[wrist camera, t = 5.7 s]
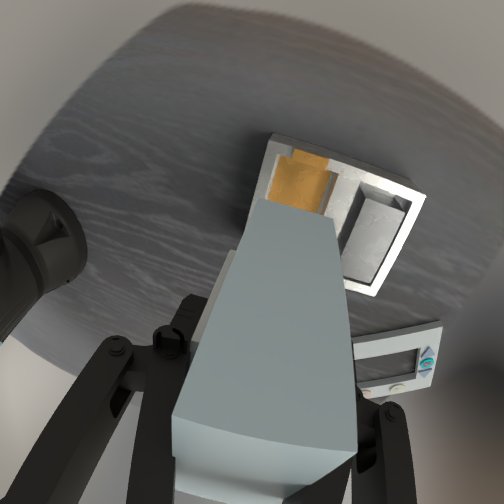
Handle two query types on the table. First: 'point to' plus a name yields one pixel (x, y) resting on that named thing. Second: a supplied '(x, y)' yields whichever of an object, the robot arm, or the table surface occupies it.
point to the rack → (344, 204)
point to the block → (270, 368)
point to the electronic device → (397, 341)
